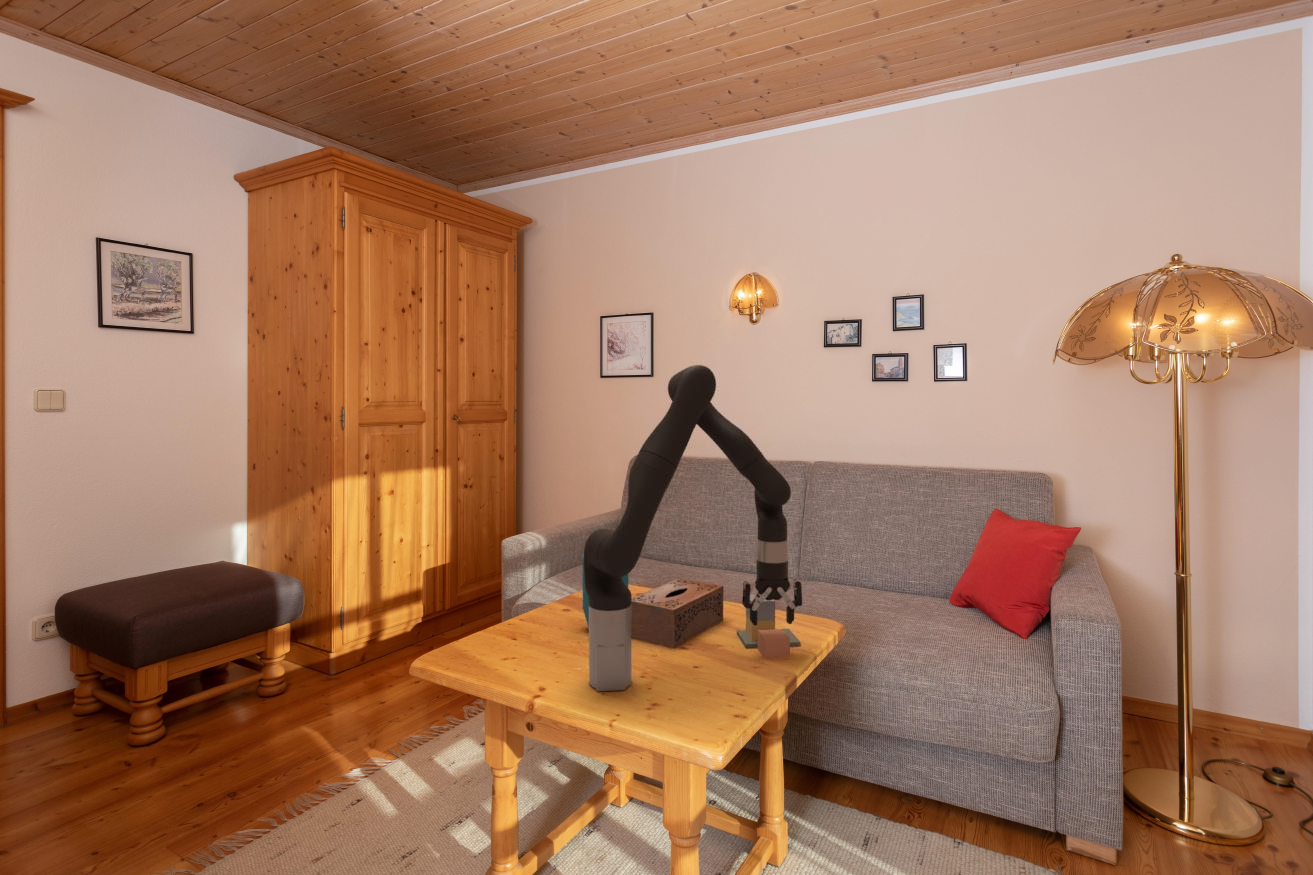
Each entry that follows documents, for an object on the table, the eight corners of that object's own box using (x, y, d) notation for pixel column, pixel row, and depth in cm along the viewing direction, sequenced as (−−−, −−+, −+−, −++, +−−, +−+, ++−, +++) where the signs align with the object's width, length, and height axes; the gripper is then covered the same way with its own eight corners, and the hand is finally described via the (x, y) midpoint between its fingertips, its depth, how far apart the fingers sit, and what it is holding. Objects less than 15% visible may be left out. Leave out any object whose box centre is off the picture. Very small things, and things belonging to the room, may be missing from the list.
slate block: (775, 620, 171) (775, 600, 171) (751, 621, 170) (751, 601, 170) (768, 612, 177) (768, 594, 177) (745, 613, 176) (746, 594, 176)
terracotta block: (789, 657, 163) (789, 637, 162) (765, 659, 162) (765, 638, 161) (781, 648, 169) (781, 628, 168) (757, 650, 168) (758, 630, 167)
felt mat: (800, 645, 170) (800, 641, 170) (745, 648, 169) (745, 644, 169) (788, 632, 180) (788, 628, 180) (736, 634, 179) (736, 630, 178)
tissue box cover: (679, 612, 198) (679, 578, 197) (723, 621, 190) (723, 585, 189) (626, 638, 176) (626, 600, 176) (673, 649, 168) (673, 609, 168)
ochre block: (774, 640, 171) (775, 620, 171) (751, 640, 171) (751, 621, 170) (768, 631, 177) (768, 612, 177) (745, 632, 177) (746, 613, 176)
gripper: (747, 562, 160) (747, 630, 161) (806, 560, 161) (805, 627, 162) (739, 555, 167) (739, 619, 168) (796, 553, 169) (795, 617, 170)
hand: (772, 623), depth 165 cm, fingers open, 8 cm apart
